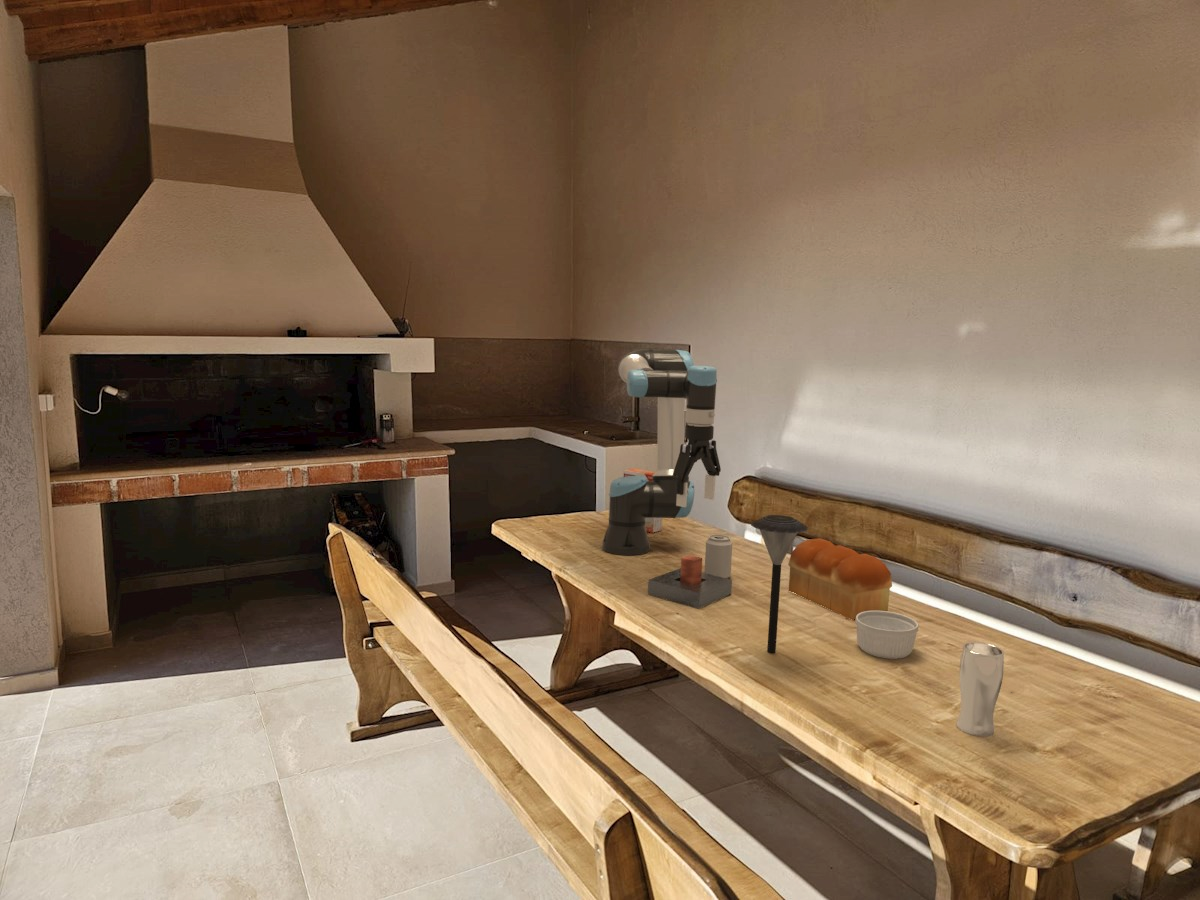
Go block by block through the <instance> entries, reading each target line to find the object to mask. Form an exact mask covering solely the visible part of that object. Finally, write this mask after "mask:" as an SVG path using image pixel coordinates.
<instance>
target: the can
mask: <svg viewBox="0 0 1200 900" xmlns="http://www.w3.org/2000/svg"><path fill="white" fill-rule="evenodd" d="M704 553H705V554H704V555H705V557H704V572H703V573H706V574H710V575H714V576H719V577H723V578H727V579H729V578H730V577H731V574H732V559H733V558H732V557H733V542H732V540H731V536H729V535H725V534H718V533H717V534H715V533H714V534H710V535H708V539H706V541H705V551H704Z"/></svg>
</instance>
